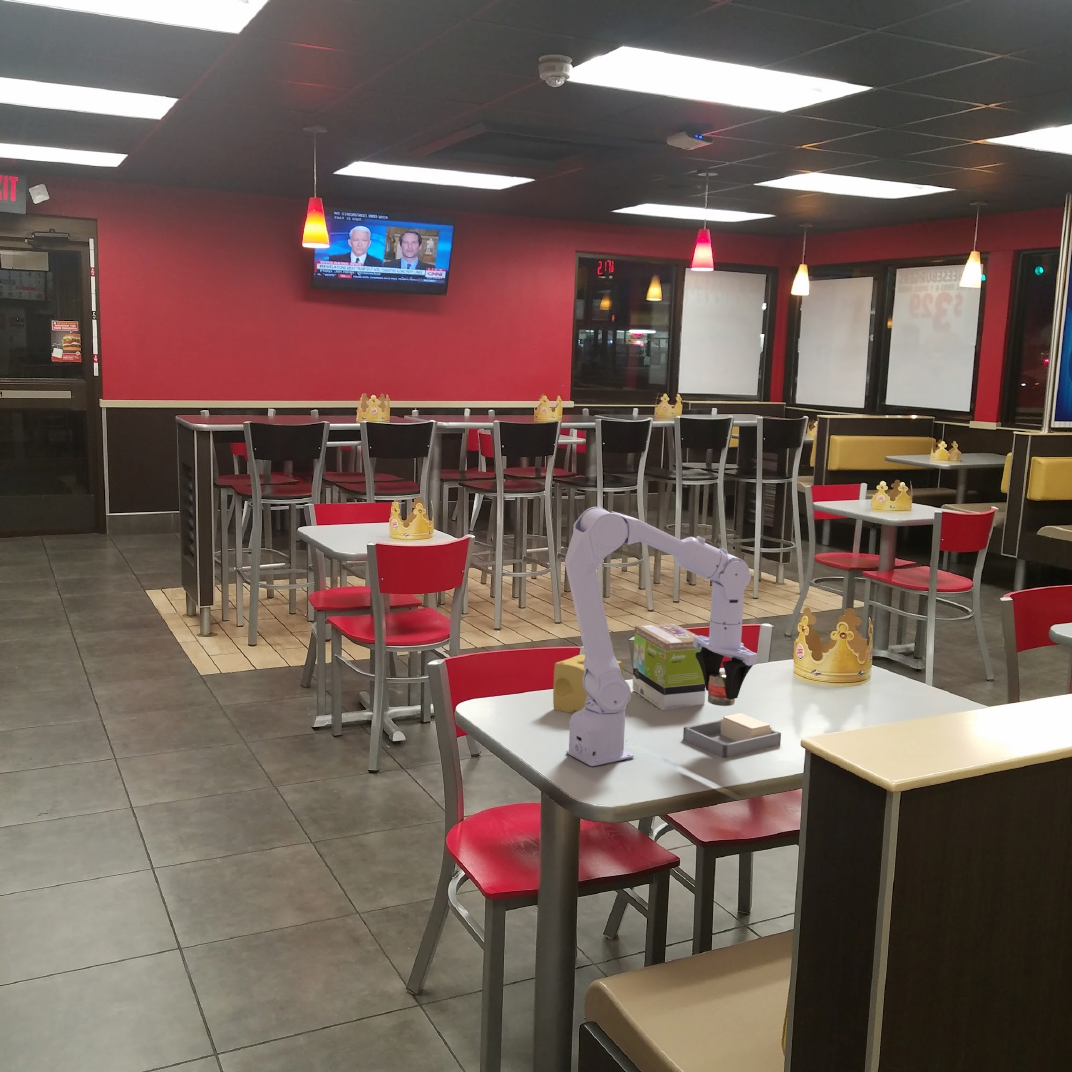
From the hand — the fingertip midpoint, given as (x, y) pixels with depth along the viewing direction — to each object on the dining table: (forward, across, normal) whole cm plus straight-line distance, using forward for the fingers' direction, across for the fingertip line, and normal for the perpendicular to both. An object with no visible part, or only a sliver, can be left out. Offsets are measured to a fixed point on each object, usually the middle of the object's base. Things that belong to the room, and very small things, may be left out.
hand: (721, 694), depth 190 cm
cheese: (+11, +31, +8) cm, 33 cm away
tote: (+10, 0, -3) cm, 11 cm away
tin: (+1, 0, 0) cm, 1 cm away
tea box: (+11, +28, -11) cm, 32 cm away
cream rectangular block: (+10, 0, -7) cm, 12 cm away
